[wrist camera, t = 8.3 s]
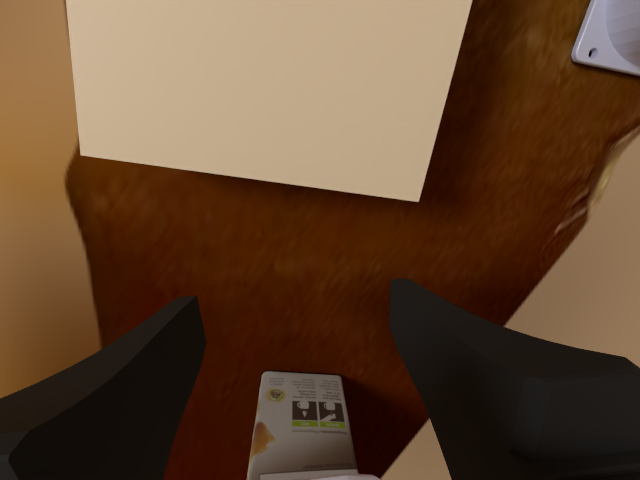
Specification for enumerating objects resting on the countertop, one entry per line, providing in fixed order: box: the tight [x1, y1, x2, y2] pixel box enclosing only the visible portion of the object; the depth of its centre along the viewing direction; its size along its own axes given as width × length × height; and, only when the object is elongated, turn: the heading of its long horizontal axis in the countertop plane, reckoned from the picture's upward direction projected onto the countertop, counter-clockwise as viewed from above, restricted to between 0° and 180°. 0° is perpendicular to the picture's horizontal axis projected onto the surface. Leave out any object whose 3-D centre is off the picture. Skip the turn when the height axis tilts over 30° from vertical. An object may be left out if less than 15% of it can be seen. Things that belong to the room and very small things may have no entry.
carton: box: [66, 0, 472, 202], centre depth 14 cm, size 14×12×6 cm
